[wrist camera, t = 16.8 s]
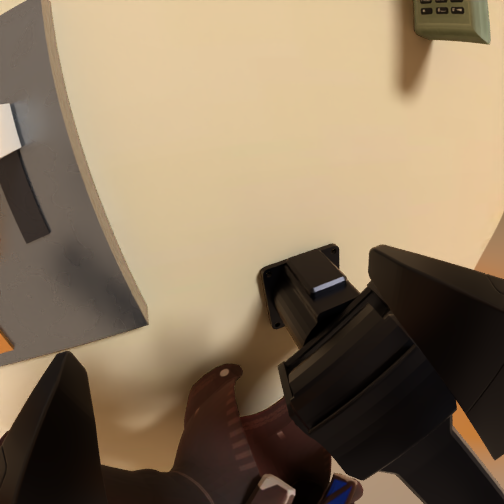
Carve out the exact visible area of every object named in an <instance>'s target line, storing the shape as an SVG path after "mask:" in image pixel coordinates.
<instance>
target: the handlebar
mask: <svg viewBox="0 0 504 504" xmlns="http://www.w3.org/2000/svg"><path fill="white" fill-rule="evenodd" d="M242 373H243V371H242V368H241V367H240V365H235V364H224V365H222V366H219V367H216V368H215V369H213V370H212V371H210V372H209V373H207V374H205V375H204V376H203V377H202V378H201V379H200V380H199V381H198V382H197V383H196V384H194V385H193V387H192V389H191V390H190V393H189V398H188V403H187V408H186V413H185V420H184V432H183V434H182V437H181V440H180V443H179V446H178V450H177V453H176V458H175V462H174V466H173V468H172V469H171V471H169V472H167V473H166V472H159V471H157V470H153V469H142V470H136V471H127V470H122V469H118V468H113V467H109V466H105V465H101V469H102V475H103V480H104V486H105V491H106V496H107V500H108V504H354V502H355V501H357V500H358V499H359V498H360V497H361V496H362V495H363V488H362V486H361V484H360V483H359V482H358V481H357V480H356V479H352V478H349V477H347V476H344V475H342V474H338V473H334V474H333V477H332V480H331V482H329V481H330V475H331V454H330V453H329V452H328V451H327V450H326V449H325V448H324V447H323V446H322V445H321V444H319V443H318V442H317V441H315V440H314V439H312V438H310V437H309V436H308V435H306V434H305V433H304V432H303V431H302V430H301V429H300V428H299V427H297V426H296V425H295V423H294V421H293V420H292V419H291V418H290V416H289V413H288V409H287V405H286V401H285V397H284V398H283V399H281V400H280V401H279V402H277V403H276V404H275V405H273V406H271V407H270V408H268V409H266V410H264V411H262V412H259V413H257V414H253V415H249V416H244V417H240V416H239V412H238V408H237V404H236V399H235V392H234V386H235V383H236V380H237V379H238V378H240V377H241V376H242ZM8 432H9V431H7V432H6V433H5V434H4V435H3V436H2V438H1V439H0V447H1V446H3V445H2V443H3V441H4V440H5V438H6V436H7V434H8Z"/></svg>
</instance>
